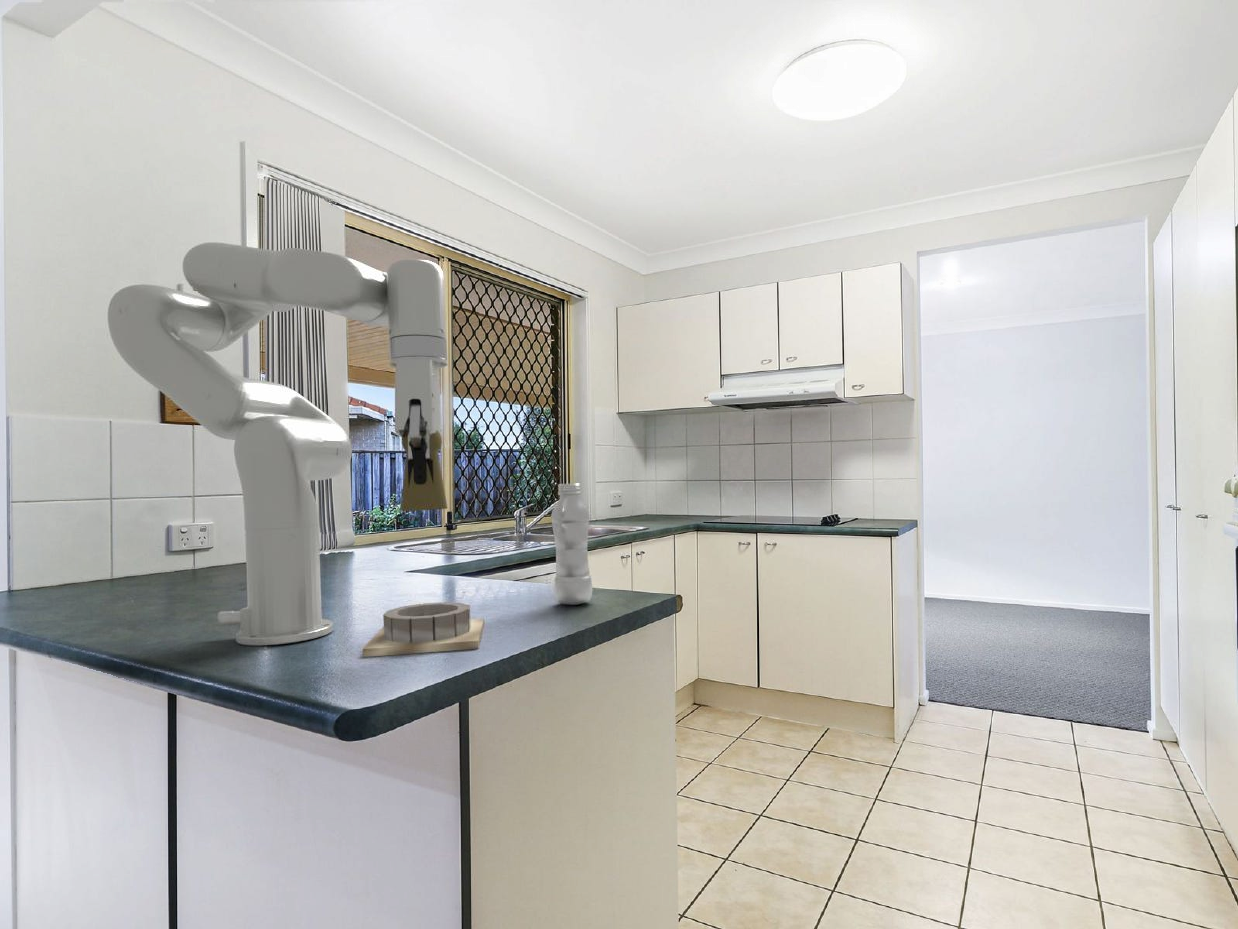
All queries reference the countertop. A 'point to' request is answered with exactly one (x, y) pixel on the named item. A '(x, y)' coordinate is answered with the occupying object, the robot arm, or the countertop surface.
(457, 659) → the countertop surface
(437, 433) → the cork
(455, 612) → the ring collar
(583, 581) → the plastic bottle
